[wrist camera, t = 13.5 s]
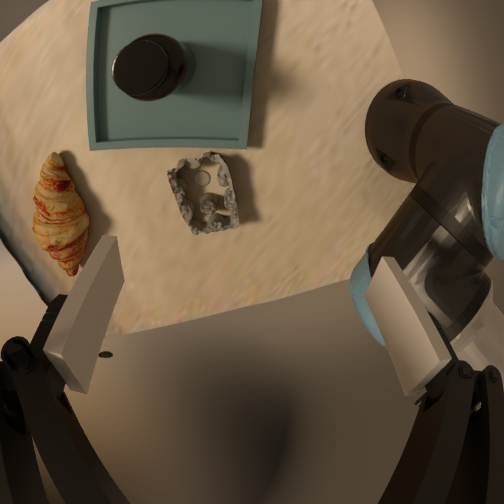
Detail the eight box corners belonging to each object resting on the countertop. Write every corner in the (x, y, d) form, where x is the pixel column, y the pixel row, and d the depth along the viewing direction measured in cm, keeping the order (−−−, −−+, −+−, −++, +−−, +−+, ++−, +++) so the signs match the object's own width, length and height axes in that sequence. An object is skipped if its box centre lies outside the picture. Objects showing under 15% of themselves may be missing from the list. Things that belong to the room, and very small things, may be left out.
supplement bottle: (200, 41, 26) (188, 28, 16) (193, 94, 30) (177, 109, 20) (142, 40, 25) (104, 32, 15) (137, 93, 29) (98, 109, 19)
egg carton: (169, 159, 35) (163, 169, 32) (225, 146, 35) (225, 155, 32) (190, 226, 42) (187, 242, 39) (240, 216, 42) (242, 232, 38)
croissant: (54, 143, 34) (12, 160, 28) (89, 149, 32) (40, 169, 25) (72, 254, 46) (41, 277, 40) (106, 275, 44) (73, 302, 37)
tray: (261, -5, 23) (263, -9, 21) (245, 144, 35) (246, 149, 33) (98, 4, 21) (91, 2, 19) (96, 145, 32) (89, 150, 31)
